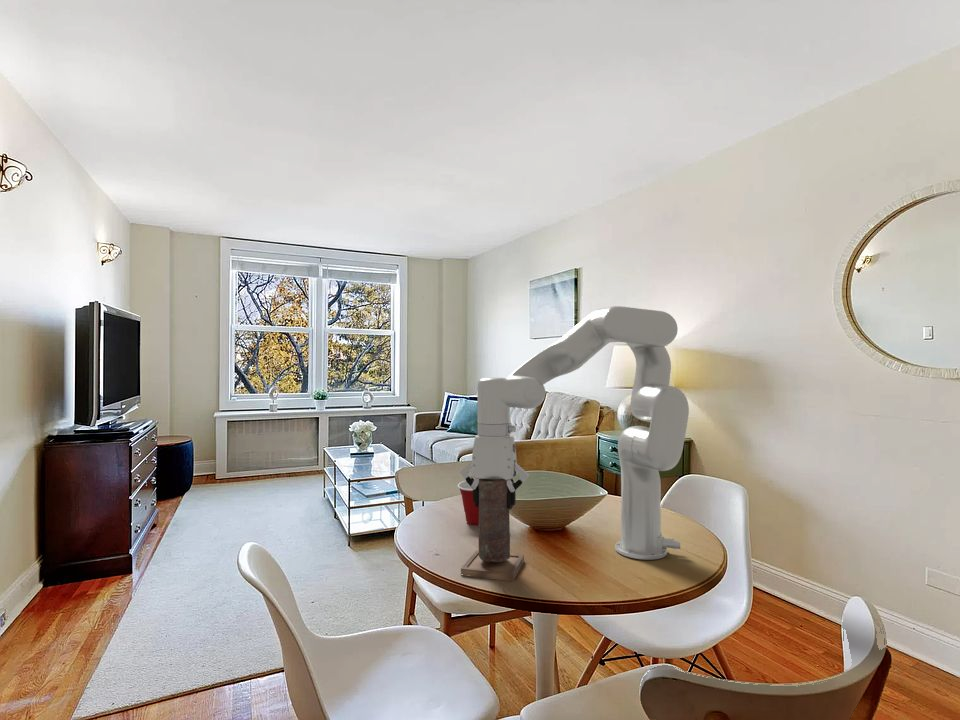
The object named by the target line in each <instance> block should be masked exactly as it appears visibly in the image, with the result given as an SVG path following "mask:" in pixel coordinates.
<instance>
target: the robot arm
mask: <svg viewBox="0 0 960 720" xmlns="http://www.w3.org/2000/svg"><path fill="white" fill-rule="evenodd" d="M678 329H679V328H678V323H677V321H676V319H675V318H674V317H673V315H671V314H670V313H668V312H666V311H663V310H655V309H647V308H638V307H630V306H620V305H619V306H617V305H615V306H608V307H604V308H598V309H596V310H593V311H591V312H590V313H589V314H588V315H587V316H585V317H583V319H582V320H580V321H579V322H578V323H577V324H575V325H574V326H573V327H572V328H571V329H570V330H569V331H568V332H566V333H565V334H564V335H563V336H562V337H560V338H559V339H557V341H555V342H553V343H552V344H550V345H548V346H547V347H546V348H544V349H543V350H542V351H541V352H538V353H537V354H535V355H534V356H532V357H531V358H530V359H528V360H526V361H525V362H524V363H523V364H521V365H520V366H519V367H518V368H516V369H515V370H514V371H513V372H512V373H511V374H509V375H508V376H507V377H506V378H505V377H483V378H480V379H479V380H478V382H477V386H476V387H477V388H476V389H477V392H476V393H477V395H476V396H477V434H476V435H475V436H474V441H473V447H472V455H471V462H469V464H467V465H465V467H464V468H462V469H461V470H460V471H459V473H460V475H461V476H462V477H463V479H464V481H466V482H467V483H468V484H469V485H470V486H471V488H472V489H473V502H475V507H478V506H479V479H482V480H497V479H505V480H506V481H507V486H508V488H509V492H508V493H507V508H508V509H509V511H510V510H512V509H513V508H514V506H515V505H516V503H517V502H516V500H517V498H516V490H518V488H519V487H520V486H521V485H522V484H523V483H524V482H525V481H526V479H527V478H528V477H529V476H530V475H529V473H528V472H527V471H526V470H525V469H524V468H523V467H522V466H520V465H519V464H518V463H517V462H518V461H517V449H516V442H515V438H514V436H513V435H511V433H516V432H517V426H514V425H512V424H511V421H510V420H511V419H510V417H511V412H510V411H511V410H510V408H517V409H527V410H529V409H530V410H531V409H535V408H537V407H539V406H541V404H542V403H543V401H545V399H546V389H545V386H544V385H545V384H547V383H548V382H550V381H551V380H553V379H556V378H558V377H561V376H564V375H567V374H570V373H572V372H575V371H577V370H579V369H580V368H581V367H582V366H584V365H585V364H586V363H587V362H588V361H590V359H592V358H594V356H595V355H596V354H598V353H599V352H600V351H601V350H602V349H603V348H604V347H605V346H607V345H608V344H610V343H624V344H625V343H626V344H627V346H628V347H629V348H630V350H631V351H632V354H633V355H634V359H635V373H634V379H633V385H632V391H631V397H630V402H629V403H630V404H629V407H630V409H629V410H630V413H632V415H633V416H634V417H635V418H636V419H638V420H640V421H643V422H646V423H647V422H648V423H650V424H649V426H643V425H634V426H633V425H632V426H629V427H627V428H625V429H624V430H623V431H622V432H621V433H620V435H619V437H618V440H617V452H618V453H617V454H618V459H619V463H620V477H621V480H620V482H621V490H620V491H621V501H620V503H621V508H620V509H621V510H620V511H621V515H620V516H621V517H620V518H621V519H620V520H621V521H620V523H621V525H620V526H621V527H620V529H621V531H620V532H621V534H620V535H621V537H620V538H621V539H620V540H618V541H617V542H615V544H614V549H615V551H616V552H617V553H618V554H620V555H622V556H625V557H627V558H631V559H636V560H642V561H643V560H644V561H645V560H647V561H651V560H653V561H654V560H660V559H662V558H665V557H666V556H667V554H668V549H674V550H681V541H680V540H675V538H671V537H669V538H667V537H665V536H663V533H662V532H663V531H661V519H662V518H661V514H662V513H661V502H662V501H661V498H662V497H661V495H662V494H661V489H662V487H661V485H662V483H661V476H660V472H666V471H670V470H672V469H673V468H675V467H676V466H677V464H678V463H679V462H680V459H681V457H682V454H683V450H684V445H685V439H686V433H687V427H688V421H689V413H690V409H689V401H688V398H687V395H686V394H685V393H684V392H683V391H682V390H681V389H679V388H678V387H675V386H673V385H670V380H671V373H672V372H671V371H672V361H671V357H670V354H669V353H668V350H667V348H666V346H668V345H670V344H671V343H672V342H673V341H674V340H675V339H676V337H677V335H678ZM470 471H471V474H470V473H469V472H470ZM517 474H519V478H518V480H516V481H515V479H514V478H515V477H516V476H517ZM474 479H475V480H474ZM667 548H668V549H667Z"/></svg>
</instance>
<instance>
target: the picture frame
mask: <svg viewBox="0 0 960 720" xmlns="http://www.w3.org/2000/svg"><path fill="white" fill-rule="evenodd" d="M524 562H525V555H524V554H514V553H510V558H509V559H508V560H504V561H502V562H484V561H483V560H481V559H480V557H479V549H478V550H477V549H476V550H475V551H474V552H473V553H472V554H471V556H470V557H469V558H468V559H467V561H466V562H465V563H464V564H463V565H462V566H461V568H460V575H461V574H463V575H462V576H464V575H470V576H469V577H473V576H477V577H476V578H481V577H484V578H483V579H490V578H491V579H493V580H499V581H509V582H513V581H514V580H515V578H516V577H517V575H518V572H520V570H519V569H521V567H523V564H524Z"/></svg>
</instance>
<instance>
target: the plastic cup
mask: <svg viewBox="0 0 960 720" xmlns="http://www.w3.org/2000/svg"><path fill="white" fill-rule="evenodd" d="M473 479H474V480H475V478H473ZM457 487H458V489H459V491H460V494H461V497H462V498H461V500H462V504H463V512H464V513H465V514H464V515H465V516H464V517H465V521H466V524H468V525H469V526H476V527H479V506H478V507H475V502H473V489H472V488H471V486H470V485H469V484H468V483H467V482H466V480H462V481H461V482H459V483H458V484H457Z"/></svg>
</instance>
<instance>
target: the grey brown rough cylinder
mask: <svg viewBox="0 0 960 720" xmlns="http://www.w3.org/2000/svg"><path fill="white" fill-rule="evenodd" d="M508 492H509V488H508V486H507V481H506V480H505V479H497V480H482V479H479V525H478V551H479V557H480V559H481V560H483V561H484V562H502V561H504V560H508V559H509V558H510V554H511V533H510V532H511V531H510V530H511V528H510V509H508V508H507V493H508Z"/></svg>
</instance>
